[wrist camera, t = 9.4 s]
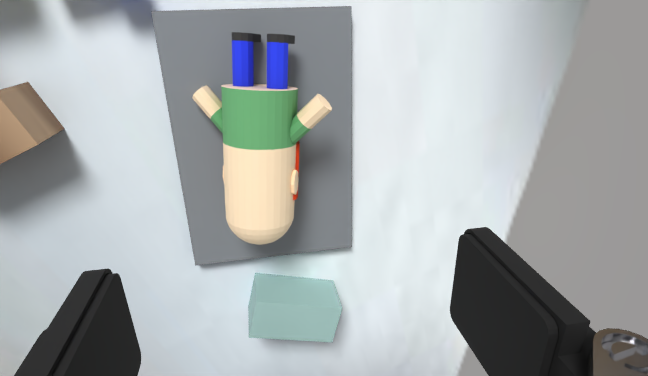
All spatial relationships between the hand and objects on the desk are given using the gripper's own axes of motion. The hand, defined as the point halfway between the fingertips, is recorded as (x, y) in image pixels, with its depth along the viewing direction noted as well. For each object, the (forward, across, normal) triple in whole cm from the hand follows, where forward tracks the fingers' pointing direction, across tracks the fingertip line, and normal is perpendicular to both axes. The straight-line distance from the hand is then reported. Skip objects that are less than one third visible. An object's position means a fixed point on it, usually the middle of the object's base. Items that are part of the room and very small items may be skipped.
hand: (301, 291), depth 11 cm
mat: (+16, 0, +1) cm, 17 cm away
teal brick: (+16, 0, +13) cm, 21 cm away
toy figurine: (+16, +1, 0) cm, 16 cm away
